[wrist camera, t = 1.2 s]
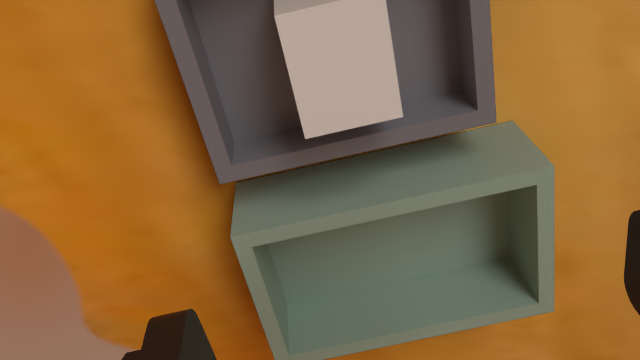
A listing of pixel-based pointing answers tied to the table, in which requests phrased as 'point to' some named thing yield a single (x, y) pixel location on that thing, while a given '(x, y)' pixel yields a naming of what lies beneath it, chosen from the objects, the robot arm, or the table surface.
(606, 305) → the table surface
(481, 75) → the charcoal tub
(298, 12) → the pale pink block
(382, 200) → the sage green bin
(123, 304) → the table surface
